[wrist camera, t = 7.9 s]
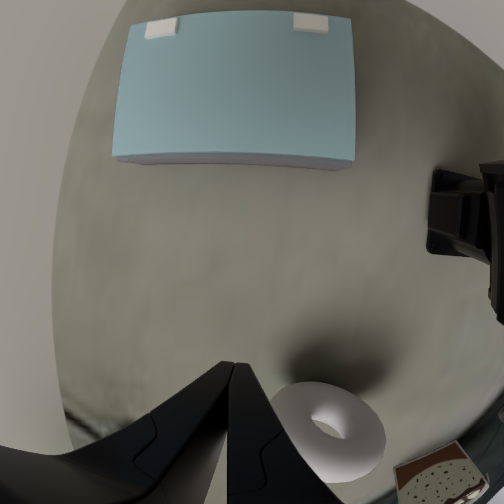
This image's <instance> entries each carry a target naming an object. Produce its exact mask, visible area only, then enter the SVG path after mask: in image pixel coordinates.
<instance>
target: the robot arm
mask: <svg viewBox="0 0 504 504" xmlns="http://www.w3.org/2000/svg"><path fill="white" fill-rule="evenodd" d="M479 167H480V172H481V173H482V176H483V180H481V179H477V178H474V177H470V176H466V175H462V174H458V173H454V172H450V171H445V170H441V169H438V170H435V171H434V172H433V180H432V194H431V195H430V208H429V219H428V228H429V230H428V238H427V245H426V249H427V251H428V252H429V253H431V254H437V255H449V256H462V257H472V258H474V259H477V260H479V261H481V262H484V263H486V264H488V265H490V288H489V289H488V297H489V299H490V300H491V306H492V308H493V309H494V311H495V313H496V314H497V318H496V319H497V321H498V322H499V323H501V324H502V325H503V326H504V160H502V161H495V162H488V163H482V164H479ZM438 173H439V174H440V179H439V178H438ZM432 245H434V248H433V249H432V250H431V247H432ZM226 434H227V504H344V503H343V502H342V501H341V500H340V499H339V498H338V497H337V496H336V495H335V494H334V493H333V492H332V491H331V490H330V489H329V487H328V486H327V485H326V484H325V483H324V482H323V481H322V480H321V479H320V477H319V476H318V475H317V474H316V473H315V472H314V471H313V469H312V468H311V467H310V466H309V465H308V463H307V462H306V461H305V460H304V458H303V457H302V456H301V455H300V453H299V452H298V450H297V449H296V447H295V445H294V444H293V442H292V441H291V439H290V437H289V436H288V434H287V432H285V429H284V427H283V425H282V424H281V422H280V420H279V418H278V416H277V415H276V413H275V411H274V409H273V407H272V406H271V404H270V402H269V400H268V398H267V396H266V394H265V393H264V391H263V389H262V387H261V385H260V383H259V381H258V379H257V378H256V376H255V374H254V372H253V370H252V368H251V366H250V364H248V363H238V362H237V363H234V362H228V361H220V362H219V363H218V364H216V365H215V366H214V367H212V368H211V369H210V370H208V371H207V372H206V373H204V374H203V375H201V376H200V377H199V378H197V379H196V380H195V381H193V382H192V383H190V384H189V385H188V386H186V387H185V388H183V389H182V390H181V391H179V392H178V393H176V394H175V395H173V396H172V397H171V398H169V399H168V400H166V401H165V402H163V403H162V404H160V405H159V406H158V407H156V408H155V409H153V410H152V411H150V413H147V414H145V415H144V416H142V417H141V418H139V419H138V420H136V421H134V422H133V423H131V424H129V425H128V426H126V427H124V428H122V429H120V430H119V431H117V432H115V433H113V434H111V435H109V436H106V437H104V438H102V439H100V440H98V441H95V442H93V443H91V444H88V445H86V446H84V447H81V448H79V449H77V450H74V451H72V452H69V453H65V454H61V455H44V454H38V453H32V452H26V451H22V450H17V449H13V448H9V447H5V446H1V445H0V504H204V501H205V498H206V495H207V492H208V489H209V486H210V483H211V480H212V477H213V474H214V471H215V468H216V465H217V462H218V459H219V456H220V453H221V450H222V447H223V444H224V441H225V438H226Z"/></svg>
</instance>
